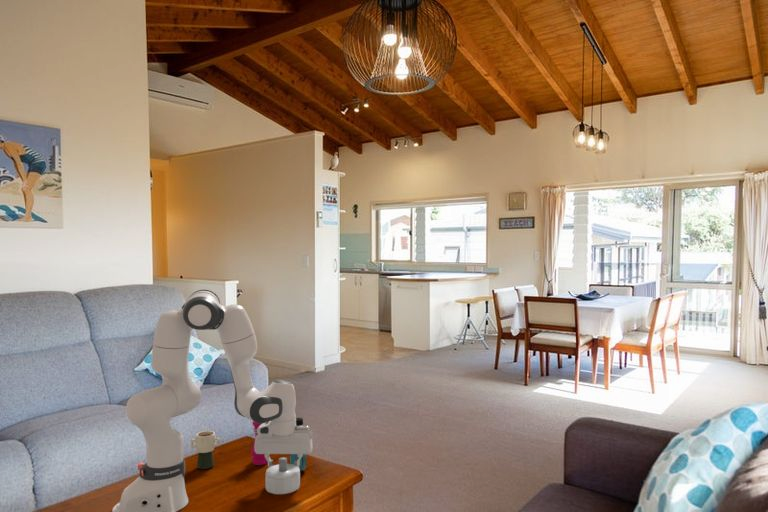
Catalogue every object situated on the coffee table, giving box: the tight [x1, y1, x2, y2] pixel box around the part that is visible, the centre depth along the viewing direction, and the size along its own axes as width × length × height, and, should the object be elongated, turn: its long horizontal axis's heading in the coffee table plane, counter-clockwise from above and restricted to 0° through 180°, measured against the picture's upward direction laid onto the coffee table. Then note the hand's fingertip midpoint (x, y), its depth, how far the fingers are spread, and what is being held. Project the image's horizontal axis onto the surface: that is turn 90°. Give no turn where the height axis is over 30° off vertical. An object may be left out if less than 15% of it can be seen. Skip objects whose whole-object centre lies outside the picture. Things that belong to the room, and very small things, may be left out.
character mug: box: [190, 430, 221, 470], centre depth 200 cm, size 11×7×13 cm, turn 100°
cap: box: [264, 456, 301, 495], centre depth 183 cm, size 12×12×10 cm
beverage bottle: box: [288, 417, 308, 472], centre depth 196 cm, size 6×7×20 cm
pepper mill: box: [250, 421, 268, 466], centre depth 205 cm, size 7×7×20 cm
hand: (283, 465), depth 182 cm, fingers open, 8 cm apart
